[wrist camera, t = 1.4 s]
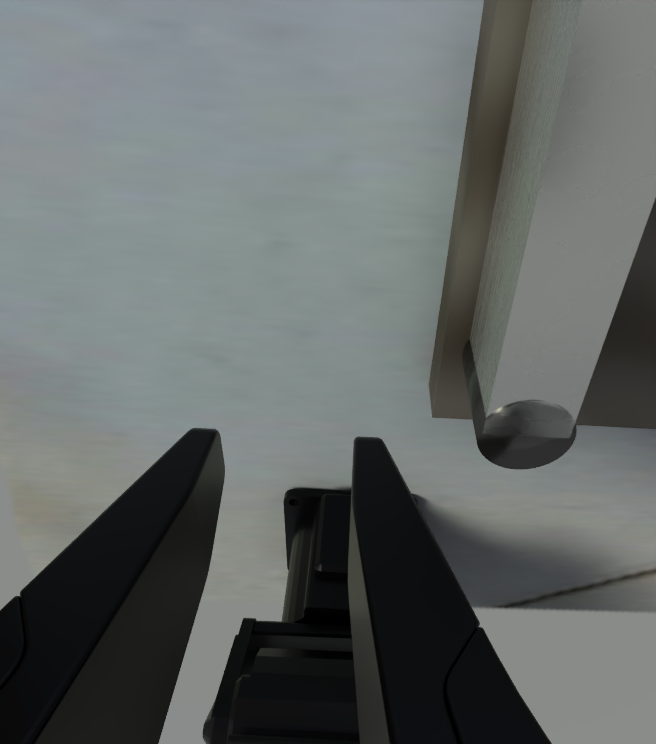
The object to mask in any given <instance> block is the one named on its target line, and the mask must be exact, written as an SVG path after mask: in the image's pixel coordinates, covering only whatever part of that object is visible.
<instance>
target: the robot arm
mask: <svg viewBox="0 0 656 744" xmlns="http://www.w3.org/2000/svg"><path fill="white" fill-rule="evenodd" d="M224 477H225V465H224V458H223V451H222V444H221V437H220V434H219V432H218V431H217V430H216V429H206V428H193V429H191V430H189V431H188V432H187V433H186V434H185V435H184V436H183V437H182V438H181V439H179V440H178V441H177V442H176V443H175V444H174V445H173V446H172V447H171V448H170V449H169V450H168V451H167V452H166V453H165V454H164V455H163V456H162V457H161V458H160V459H159V460H158V461H156V462H155V463H154V464H153V465H152V466H151V467H150V468H149V469H148V470H147V471H146V472H145V473H144V474H143V475H142V476H141V477H140V478H139V479H138V480H137V481H136V482H134V483H133V484H132V485H131V486H130V487H129V488H128V489H127V490H126V491H125V492H124V493H123V494H122V495H121V496H120V497H119V498H118V499H117V500H116V501H115V502H114V503H113V504H111V505H110V506H109V507H108V508H107V509H106V510H105V511H104V512H103V513H102V514H101V515H100V516H99V517H98V518H97V519H96V520H95V521H94V522H93V523H92V524H91V525H89V526H88V527H87V528H86V529H85V530H84V531H83V532H82V533H81V534H80V535H79V536H78V537H77V538H76V539H75V540H74V541H73V542H72V543H71V544H70V545H69V546H68V547H66V548H65V549H64V550H63V551H62V552H61V553H60V554H59V555H58V556H57V557H56V558H55V559H54V560H53V561H52V562H51V563H50V564H49V565H48V566H47V567H46V568H44V569H43V570H42V571H41V572H40V573H39V574H38V575H37V576H36V577H35V578H34V579H33V580H32V581H31V582H30V583H29V584H28V585H27V586H26V587H25V588H24V589H22V591H21V592H20V597H19V596H15V597H14V598H13V599H12V600H11V601H10V602H9V603H8V604H7V605H5V606H4V607H3V608H2V609H1V610H0V744H158V743H159V739H160V736H161V732H162V729H163V726H164V721H165V719H166V715H167V712H168V709H169V705H170V702H171V698H172V695H173V692H174V688H175V685H176V681H177V678H178V675H179V671H180V668H181V664H182V661H183V657H184V654H185V651H186V647H187V644H188V640H189V637H190V634H191V630H192V627H193V623H194V620H195V616H196V613H197V610H198V607H199V603H200V600H201V596H202V593H203V590H204V586H205V583H206V579H207V575H208V571H209V566H210V561H211V556H212V550H213V544H214V538H215V532H216V526H217V520H218V514H219V508H220V502H221V496H222V490H223V484H224ZM284 515H285V533H286V550H287V567H288V570H289V572H288V579H287V587H286V594H285V601H284V610H283V616H282V622H276V621H256V619H254V618H244V619H243V621H242V625H241V628H240V631H239V634H238V635H236V636H235V639H234V642H233V645H232V648H231V652H230V655H229V658H228V662H227V665H226V668H225V671H224V675H223V678H222V681H221V684H220V687H219V691H218V694H217V697H216V700H215V702H214V704H213V706H212V709H211V711H210V713H209V715H208V717H207V719H206V721H205V723H204V728H203V739H204V741H205V742H206V744H552V743H551V742H550V740H549V739H548V738H547V736H546V734H545V733H544V731H543V730H542V728H541V727H540V725H539V724H538V722H537V721H536V719H535V717H534V716H533V714H532V713H531V711H530V710H529V708H528V707H527V705H526V703H525V702H524V700H523V699H522V697H521V696H520V694H519V692H518V691H517V689H516V687H515V685H514V684H513V682H512V680H511V678H510V677H509V675H508V673H507V671H506V670H505V668H504V666H503V664H502V663H501V661H500V659H499V658H498V656H497V654H496V652H495V650H494V648H493V646H492V645H491V643H490V641H489V639H488V637H487V635H486V633H485V631H484V629H483V628H481V627H479V625H480V623H479V621H478V619H477V617H476V615H475V613H474V611H473V609H472V607H471V605H470V604H469V602H468V600H467V598H466V596H465V594H464V592H463V590H462V589H461V587H460V585H459V583H458V581H457V579H456V577H455V575H454V573H453V572H452V570H451V568H450V566H449V564H448V562H447V560H446V558H445V557H444V555H443V553H442V551H441V549H440V547H439V545H438V543H437V541H436V540H435V538H434V536H433V534H432V532H431V530H430V528H429V526H428V525H427V523H426V521H425V519H424V517H423V515H422V513H421V511H420V509H419V508H418V501H417V500H416V498H414V497H413V496H412V494H411V493H410V491H409V489H408V487H407V485H406V483H405V481H404V479H403V477H402V476H401V474H400V472H399V470H398V468H397V466H396V464H395V462H394V461H393V459H392V457H391V455H390V453H389V451H388V449H387V447H386V445H385V444H384V442H383V441H382V439H380V438H376V437H356V438H355V439H354V450H353V470H352V491H351V492H334V491H317V490H299V489H291V490H288V491H287V492H286V493H285V497H284Z"/></svg>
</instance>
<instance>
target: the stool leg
mask: <svg viewBox="0 0 656 744" xmlns="http://www.w3.org/2000/svg"><path fill="white" fill-rule="evenodd" d="M655 198H656V0H533V2H532V7H531V13H530V18H529V23H528V29H527V34H526V39H525V45H524V50H523V55H522V61H521V66H520V72H519V77H518V82H517V88H516V93H515V98H514V104H513V109H512V114H511V120H510V125H509V130H508V136H507V141H506V146H505V152H504V157H503V163H502V168H501V173H500V179H499V184H498V189H497V195H496V200H495V205H494V211H493V216H492V221H491V227H490V232H489V237H488V243H487V248H486V254H485V259H484V264H483V270H482V275H481V280H480V286H479V291H478V296H477V302H476V307H475V312H474V318H473V323H472V328H471V334H470V338H469V340H468V341H467V343H466V344H465V347H464V349H463V353H462V362H463V368H464V373H465V379H466V384H467V390H468V395H469V401H470V407H471V412H472V418H473V423H474V429H475V434H476V440H477V445H478V448H479V450H480V452H481V453H482V455H483V456H484V457H485V458H486V459H488V460H489V461H490V462H492V463H494V464H496V465H498V466H501V467H504V468H509V469H531V468H536V467H540V466H543V465H546V464H548V463H551V462H553V461H554V460H556V459H558V458H559V457H561V456H562V455H563V454H564V453H565V452H567V450H568V449H569V448H570V447H571V445H572V444H573V442H574V440H575V436H576V424H575V422H576V419H577V416H578V414H579V411H580V408H581V405H582V402H583V400H584V397H585V394H586V391H587V388H588V386H589V383H590V380H591V377H592V374H593V371H594V369H595V366H596V363H597V360H598V357H599V355H600V352H601V349H602V346H603V343H604V341H605V338H606V335H607V332H608V329H609V327H610V324H611V321H612V318H613V315H614V313H615V310H616V307H617V304H618V301H619V299H620V296H621V293H622V290H623V287H624V285H625V282H626V279H627V276H628V273H629V271H630V268H631V265H632V262H633V259H634V257H635V254H636V251H637V248H638V245H639V243H640V240H641V237H642V234H643V231H644V229H645V226H646V223H647V220H648V217H649V215H650V212H651V209H652V206H653V203H654V201H655Z"/></svg>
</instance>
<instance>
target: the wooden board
mask: <svg viewBox="0 0 656 744" xmlns="http://www.w3.org/2000/svg"><path fill="white" fill-rule="evenodd" d="M532 2H533V0H484V7H483V14H482V21H481V28H480V35H479V42H478V49H477V55H476V62H475V69H474V76H473V83H472V90H471V97H470V104H469V111H468V118H467V125H466V132H465V139H464V146H463V152H462V159H461V166H460V173H459V180H458V187H457V194H456V201H455V208H454V215H453V222H452V229H451V236H450V243H449V250H448V256H447V263H446V270H445V277H444V284H443V291H442V298H441V305H440V312H439V319H438V326H437V333H436V340H435V347H434V354H433V360H432V367H431V374H430V381H429V390H430V400H431V410H432V417H434V418H453V419H473V418H472V412H471V407H470V401H469V395H468V390H467V384H466V379H465V373H464V368H463V362H462V353H463V349H464V347H465V344H466V343H467V341H468V340H469V338H470V334H471V328H472V323H473V318H474V312H475V307H476V302H477V296H478V291H479V286H480V280H481V275H482V270H483V264H484V259H485V254H486V248H487V243H488V237H489V232H490V227H491V221H492V216H493V211H494V205H495V200H496V195H497V189H498V184H499V179H500V173H501V168H502V163H503V157H504V152H505V146H506V141H507V136H508V130H509V125H510V120H511V114H512V109H513V104H514V98H515V93H516V88H517V82H518V77H519V72H520V66H521V61H522V55H523V50H524V45H525V39H526V34H527V29H528V23H529V18H530V13H531V7H532ZM575 424H576V425H590V426H609V427H628V428H648V429H656V198H655V201H654V203H653V206H652V209H651V212H650V215H649V217H648V220H647V223H646V226H645V229H644V231H643V234H642V237H641V240H640V243H639V245H638V248H637V251H636V254H635V257H634V259H633V262H632V265H631V268H630V271H629V273H628V276H627V279H626V282H625V285H624V287H623V290H622V293H621V296H620V299H619V301H618V304H617V307H616V310H615V313H614V315H613V318H612V321H611V324H610V327H609V329H608V332H607V335H606V338H605V341H604V343H603V346H602V349H601V352H600V355H599V357H598V360H597V363H596V366H595V369H594V371H593V374H592V377H591V380H590V383H589V386H588V388H587V391H586V394H585V397H584V400H583V402H582V405H581V408H580V411H579V414H578V416H577V419H576V422H575Z"/></svg>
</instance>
